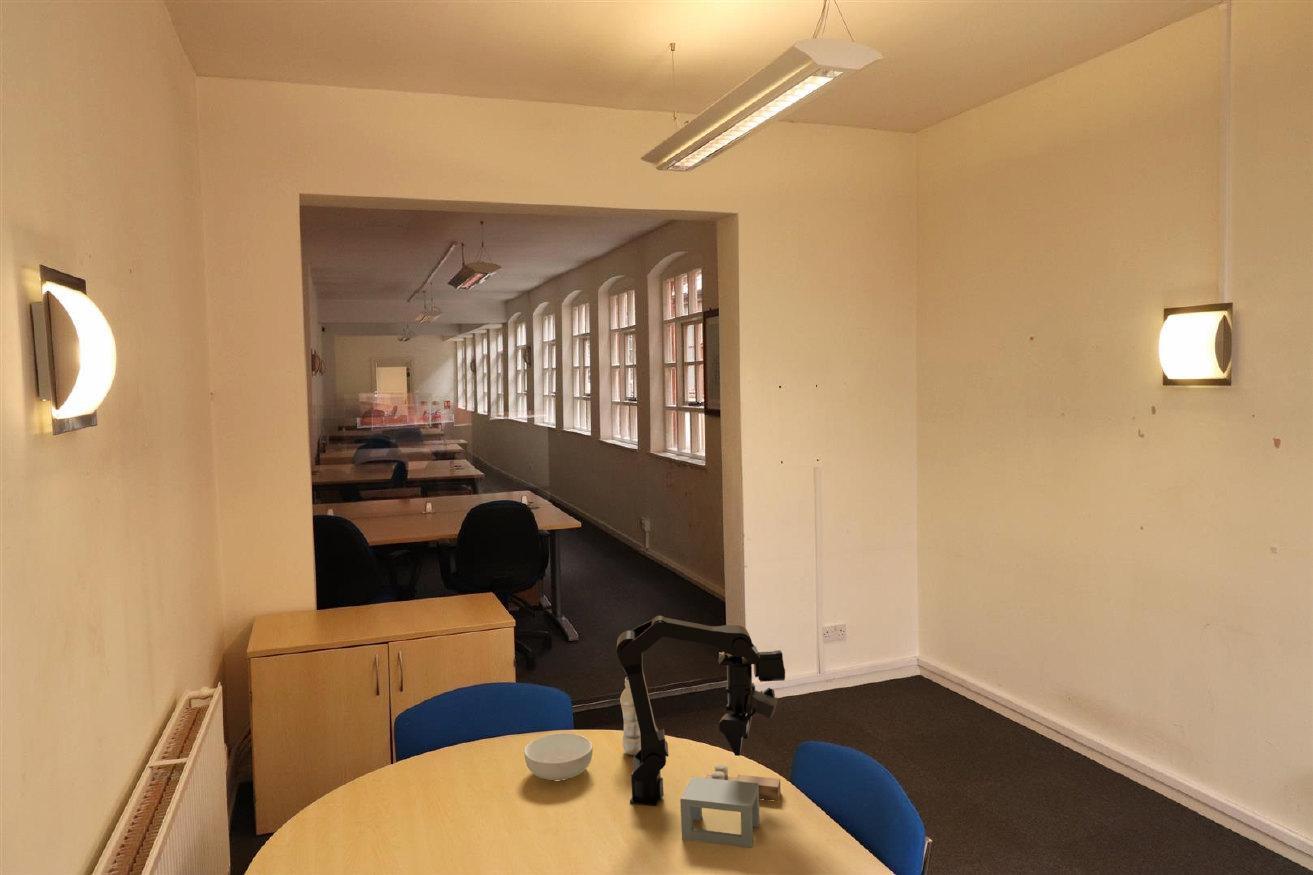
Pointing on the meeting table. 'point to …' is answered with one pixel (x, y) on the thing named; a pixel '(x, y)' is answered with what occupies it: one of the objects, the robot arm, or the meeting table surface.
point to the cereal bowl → (558, 755)
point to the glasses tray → (767, 786)
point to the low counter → (720, 798)
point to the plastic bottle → (630, 722)
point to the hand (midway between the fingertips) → (741, 746)
